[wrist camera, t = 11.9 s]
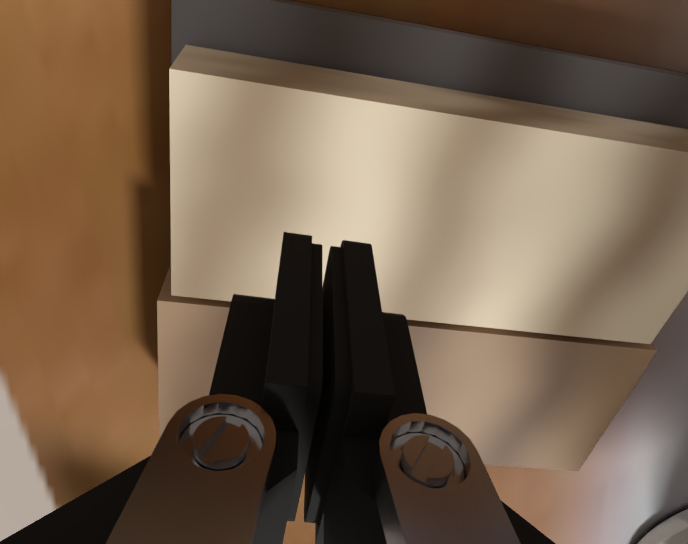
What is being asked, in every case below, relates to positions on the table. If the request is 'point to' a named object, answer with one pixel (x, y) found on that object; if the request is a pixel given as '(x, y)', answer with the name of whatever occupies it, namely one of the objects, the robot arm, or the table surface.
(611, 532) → the table surface
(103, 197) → the table surface
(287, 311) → the robot arm
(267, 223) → the birch plank
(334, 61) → the floor panel
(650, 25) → the table surface
